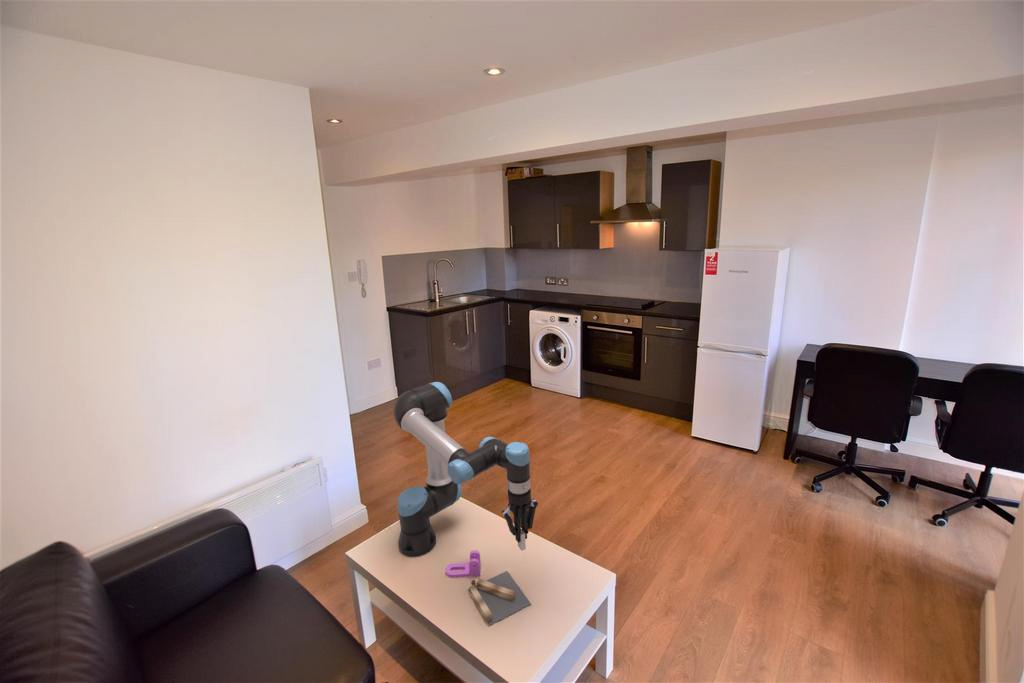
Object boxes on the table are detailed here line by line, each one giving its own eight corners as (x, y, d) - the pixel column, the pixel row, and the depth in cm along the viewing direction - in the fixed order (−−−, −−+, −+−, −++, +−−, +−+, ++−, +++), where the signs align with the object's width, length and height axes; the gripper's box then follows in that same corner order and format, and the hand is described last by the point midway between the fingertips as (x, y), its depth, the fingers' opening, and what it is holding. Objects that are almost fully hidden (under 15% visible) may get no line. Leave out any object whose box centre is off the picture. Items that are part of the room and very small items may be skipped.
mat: (467, 589, 162) (467, 589, 162) (507, 571, 170) (507, 570, 170) (489, 626, 148) (489, 625, 148) (531, 604, 155) (531, 603, 155)
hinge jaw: (476, 588, 162) (476, 582, 161) (479, 584, 164) (479, 578, 163) (512, 601, 156) (512, 595, 155) (514, 597, 158) (514, 591, 157)
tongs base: (467, 590, 162) (466, 582, 161) (475, 586, 163) (474, 579, 162) (486, 623, 149) (486, 615, 148) (495, 619, 150) (494, 611, 149)
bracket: (480, 564, 174) (479, 549, 172) (480, 576, 168) (478, 561, 166) (446, 566, 173) (444, 551, 171) (444, 578, 168) (443, 562, 166)
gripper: (507, 501, 143) (510, 562, 150) (542, 487, 149) (543, 547, 156) (496, 489, 150) (499, 548, 157) (530, 476, 156) (532, 534, 162)
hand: (521, 547), depth 156 cm, fingers closed
